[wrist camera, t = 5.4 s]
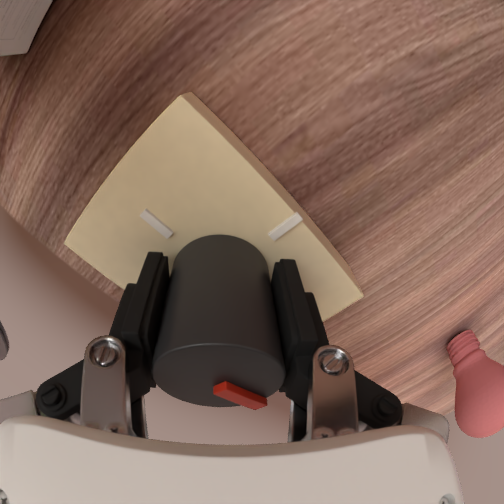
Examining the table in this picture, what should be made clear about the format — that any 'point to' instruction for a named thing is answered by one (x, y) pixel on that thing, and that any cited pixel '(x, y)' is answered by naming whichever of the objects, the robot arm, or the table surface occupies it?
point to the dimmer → (203, 207)
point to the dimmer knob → (219, 327)
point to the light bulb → (476, 387)
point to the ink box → (20, 24)
